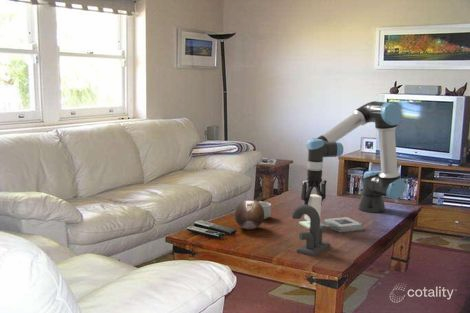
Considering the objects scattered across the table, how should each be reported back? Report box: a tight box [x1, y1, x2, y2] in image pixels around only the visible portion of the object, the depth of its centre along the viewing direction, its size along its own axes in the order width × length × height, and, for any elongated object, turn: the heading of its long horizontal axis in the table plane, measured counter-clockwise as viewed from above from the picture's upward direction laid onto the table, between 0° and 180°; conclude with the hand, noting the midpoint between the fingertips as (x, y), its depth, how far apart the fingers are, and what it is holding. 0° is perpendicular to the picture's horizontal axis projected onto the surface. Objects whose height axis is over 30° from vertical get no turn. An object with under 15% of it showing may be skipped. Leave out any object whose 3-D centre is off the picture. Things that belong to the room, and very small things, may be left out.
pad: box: [298, 220, 326, 230], centre depth 274 cm, size 10×10×1 cm
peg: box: [304, 193, 322, 222], centre depth 272 cm, size 6×6×13 cm
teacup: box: [257, 200, 272, 220], centre depth 286 cm, size 14×11×8 cm
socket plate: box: [323, 216, 364, 233], centre depth 272 cm, size 14×14×3 cm
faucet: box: [291, 204, 331, 257], centre depth 238 cm, size 18×16×20 cm
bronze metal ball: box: [234, 199, 265, 230], centre depth 264 cm, size 15×15×15 cm
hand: (312, 212), depth 273 cm, fingers closed on peg, 6 cm apart
